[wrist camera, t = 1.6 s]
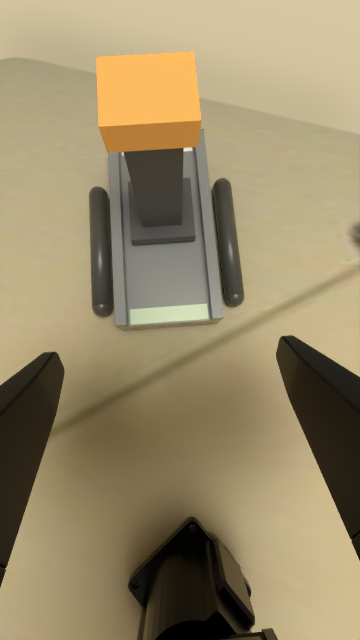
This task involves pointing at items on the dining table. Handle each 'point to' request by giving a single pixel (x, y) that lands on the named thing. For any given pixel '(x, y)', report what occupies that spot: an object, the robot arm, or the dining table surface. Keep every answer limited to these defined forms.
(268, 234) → the dining table surface
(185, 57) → the orange-capped post
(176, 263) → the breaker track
